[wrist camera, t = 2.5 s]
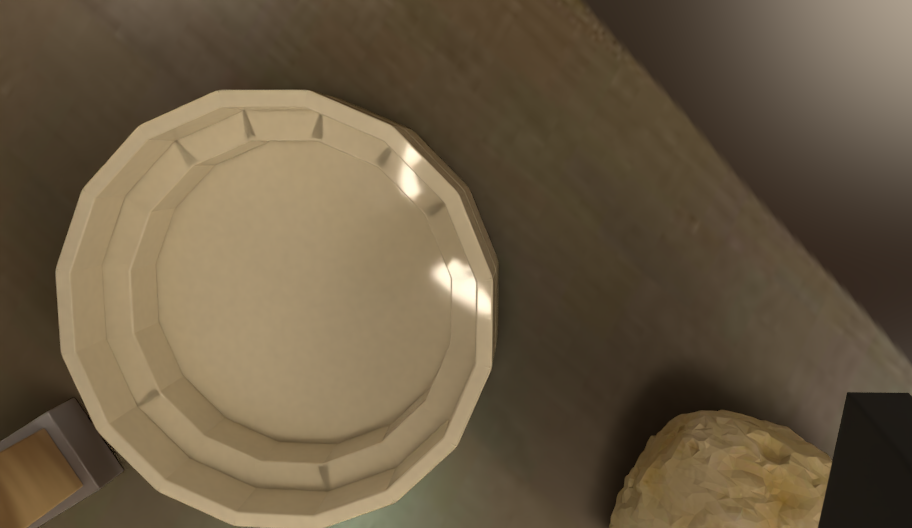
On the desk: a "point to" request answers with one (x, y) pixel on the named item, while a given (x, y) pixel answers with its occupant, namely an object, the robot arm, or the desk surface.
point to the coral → (724, 476)
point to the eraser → (52, 466)
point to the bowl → (278, 307)
